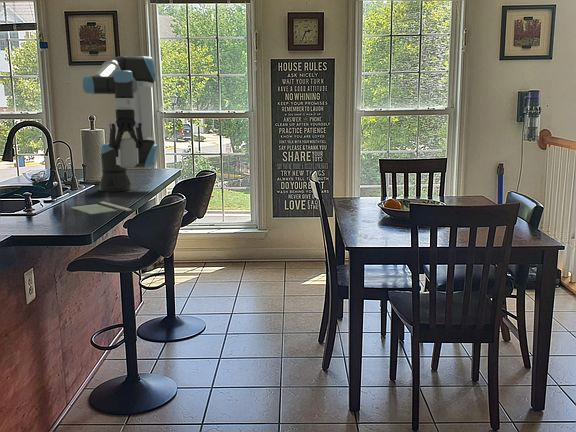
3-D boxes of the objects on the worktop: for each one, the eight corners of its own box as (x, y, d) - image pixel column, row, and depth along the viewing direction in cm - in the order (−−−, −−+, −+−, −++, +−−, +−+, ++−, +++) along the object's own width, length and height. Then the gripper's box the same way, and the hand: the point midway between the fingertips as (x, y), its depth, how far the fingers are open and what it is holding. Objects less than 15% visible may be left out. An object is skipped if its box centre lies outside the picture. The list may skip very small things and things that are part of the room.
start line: (104, 202, 258) (104, 201, 258) (131, 210, 241) (131, 209, 241) (99, 203, 257) (99, 202, 257) (127, 211, 240) (127, 209, 240)
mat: (96, 204, 253) (96, 204, 253) (116, 211, 240) (116, 210, 240) (71, 208, 246) (70, 207, 245) (90, 214, 233) (90, 213, 233)
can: (114, 167, 251) (113, 138, 249) (127, 165, 258) (125, 137, 255) (128, 168, 248) (127, 139, 245) (140, 166, 254) (139, 137, 252)
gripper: (106, 109, 238) (109, 166, 243) (151, 108, 252) (153, 163, 257) (97, 109, 244) (100, 165, 248) (142, 108, 257) (144, 161, 262)
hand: (127, 163), depth 252 cm, fingers closed on can, 7 cm apart
